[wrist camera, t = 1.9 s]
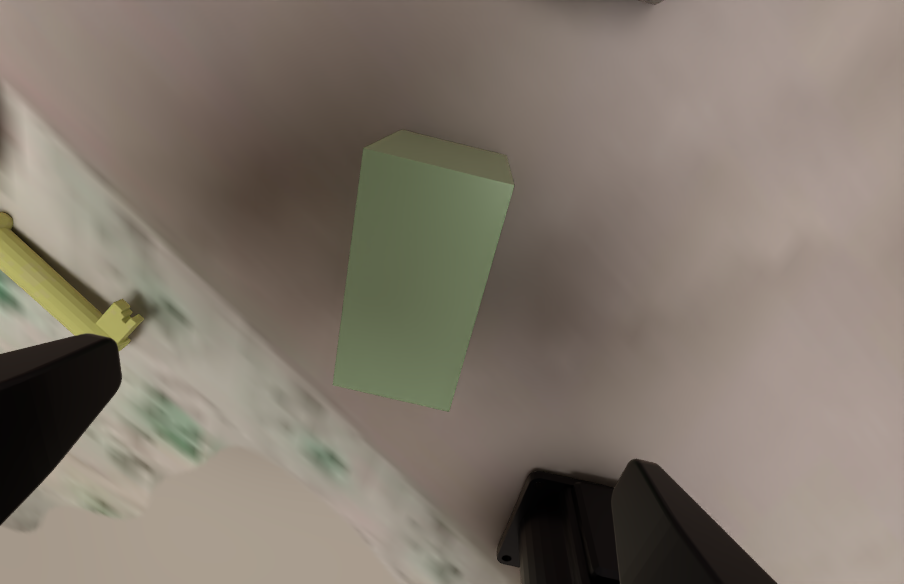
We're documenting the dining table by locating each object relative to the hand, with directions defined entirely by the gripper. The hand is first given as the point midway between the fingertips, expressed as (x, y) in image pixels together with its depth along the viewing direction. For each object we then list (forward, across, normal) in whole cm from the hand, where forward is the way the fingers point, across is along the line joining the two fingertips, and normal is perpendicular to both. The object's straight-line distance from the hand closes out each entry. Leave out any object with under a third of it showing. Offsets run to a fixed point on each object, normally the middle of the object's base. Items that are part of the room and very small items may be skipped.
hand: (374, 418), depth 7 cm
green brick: (+10, 0, 0) cm, 10 cm away
